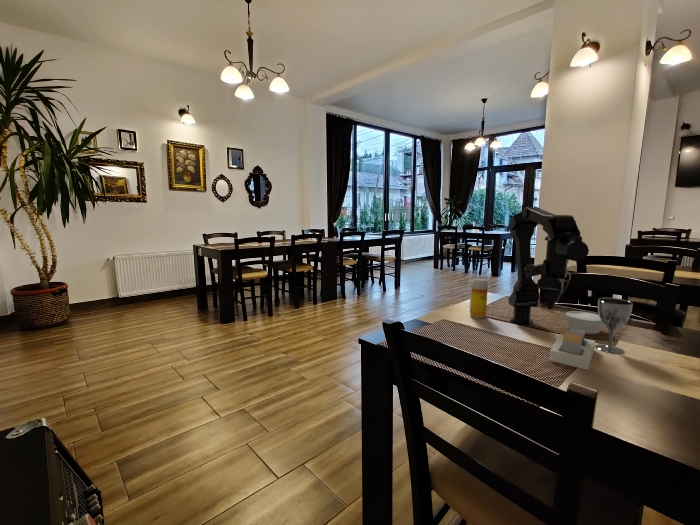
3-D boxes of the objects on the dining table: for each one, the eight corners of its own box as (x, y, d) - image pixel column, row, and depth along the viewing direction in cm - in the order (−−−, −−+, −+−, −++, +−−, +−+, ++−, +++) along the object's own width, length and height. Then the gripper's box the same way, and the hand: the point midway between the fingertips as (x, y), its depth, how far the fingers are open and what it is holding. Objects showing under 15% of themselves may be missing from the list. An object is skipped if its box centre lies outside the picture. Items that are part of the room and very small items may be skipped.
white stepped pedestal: (559, 343, 106) (560, 324, 105) (594, 350, 100) (596, 330, 99) (549, 360, 94) (551, 339, 93) (588, 370, 88) (590, 348, 87)
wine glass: (619, 345, 103) (625, 298, 101) (631, 356, 96) (638, 305, 93) (589, 342, 106) (594, 296, 103) (598, 352, 98) (604, 303, 96)
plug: (563, 352, 97) (565, 332, 96) (580, 356, 94) (582, 335, 93) (561, 357, 93) (563, 336, 93) (578, 361, 91) (580, 340, 90)
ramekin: (579, 323, 124) (581, 309, 123) (611, 333, 114) (613, 318, 113) (557, 326, 121) (558, 312, 120) (587, 337, 110) (588, 322, 109)
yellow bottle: (487, 319, 129) (489, 281, 127) (470, 318, 131) (472, 280, 128) (484, 314, 135) (486, 278, 133) (468, 313, 136) (470, 277, 134)
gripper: (534, 251, 115) (531, 295, 117) (520, 257, 100) (516, 308, 103) (573, 254, 107) (568, 301, 110) (563, 261, 93) (558, 314, 96)
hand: (552, 305), depth 105 cm, fingers open, 9 cm apart
